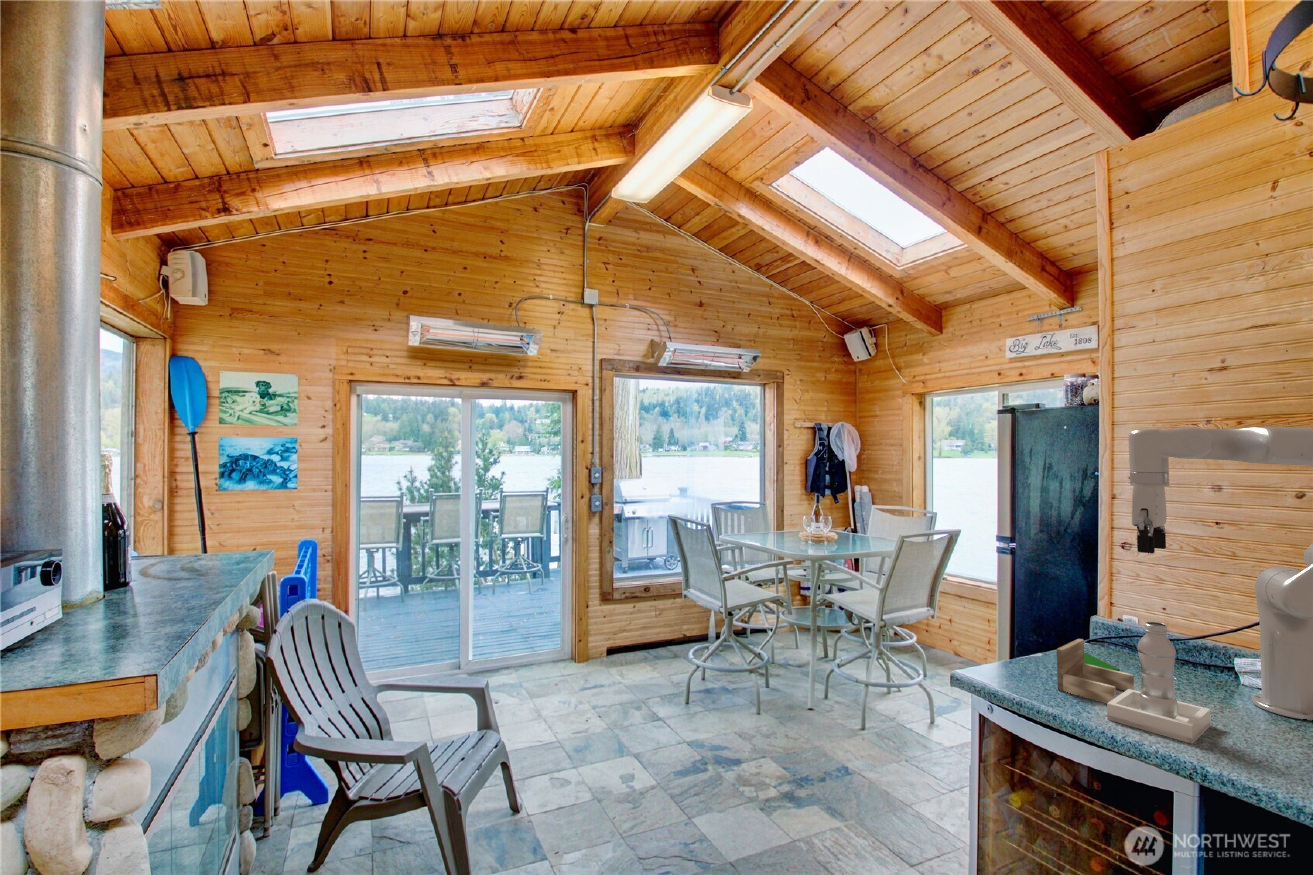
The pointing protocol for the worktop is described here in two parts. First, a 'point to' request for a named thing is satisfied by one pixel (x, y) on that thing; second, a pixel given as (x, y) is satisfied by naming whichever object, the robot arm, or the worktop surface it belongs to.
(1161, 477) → the robot arm
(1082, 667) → the bay
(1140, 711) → the tray
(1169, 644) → the plastic bottle
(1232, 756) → the worktop surface
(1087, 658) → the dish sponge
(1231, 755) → the worktop surface
